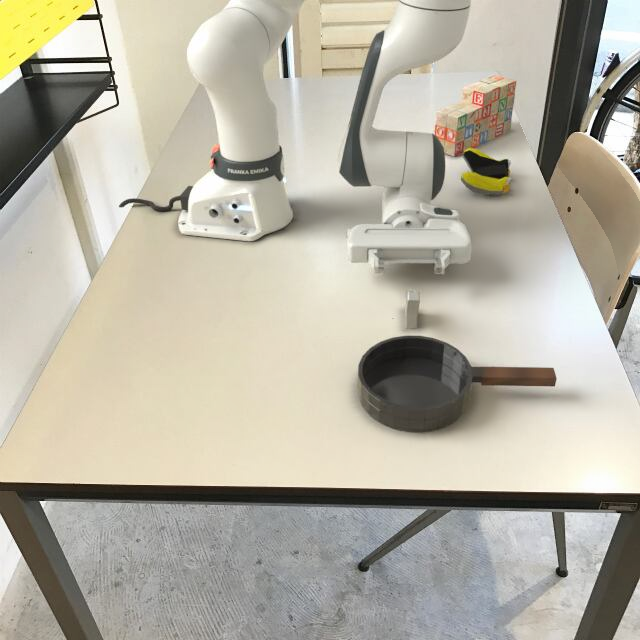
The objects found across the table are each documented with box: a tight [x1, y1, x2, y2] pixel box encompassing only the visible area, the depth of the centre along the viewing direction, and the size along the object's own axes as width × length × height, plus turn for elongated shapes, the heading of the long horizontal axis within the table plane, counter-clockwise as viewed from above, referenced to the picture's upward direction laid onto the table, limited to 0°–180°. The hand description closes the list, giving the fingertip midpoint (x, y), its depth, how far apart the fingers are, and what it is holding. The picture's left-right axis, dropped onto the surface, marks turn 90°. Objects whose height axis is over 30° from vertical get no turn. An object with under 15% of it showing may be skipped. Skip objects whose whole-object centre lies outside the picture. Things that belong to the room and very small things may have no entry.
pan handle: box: [471, 366, 558, 388], centre depth 93 cm, size 11×2×2 cm, turn 86°
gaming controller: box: [460, 147, 512, 198], centre depth 144 cm, size 15×6×10 cm
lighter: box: [404, 288, 421, 330], centre depth 105 cm, size 7×2×8 cm, turn 176°
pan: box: [357, 335, 473, 433], centre depth 95 cm, size 15×15×4 cm
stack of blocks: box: [434, 75, 517, 157], centre depth 161 cm, size 21×6×12 cm, turn 133°
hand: (409, 270), depth 110 cm, fingers open, 8 cm apart
